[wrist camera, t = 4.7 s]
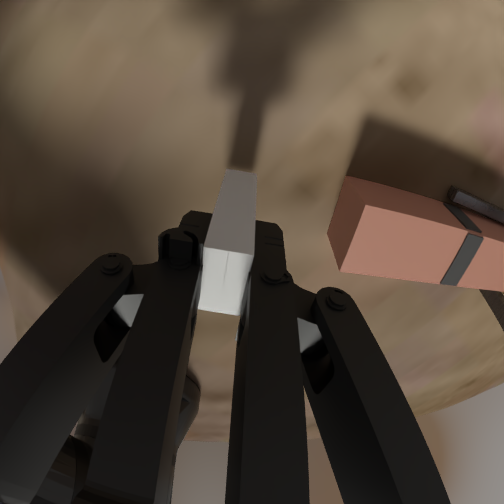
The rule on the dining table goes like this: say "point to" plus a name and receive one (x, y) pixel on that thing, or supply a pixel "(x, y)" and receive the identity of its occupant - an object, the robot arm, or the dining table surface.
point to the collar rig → (496, 300)
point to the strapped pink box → (414, 238)
